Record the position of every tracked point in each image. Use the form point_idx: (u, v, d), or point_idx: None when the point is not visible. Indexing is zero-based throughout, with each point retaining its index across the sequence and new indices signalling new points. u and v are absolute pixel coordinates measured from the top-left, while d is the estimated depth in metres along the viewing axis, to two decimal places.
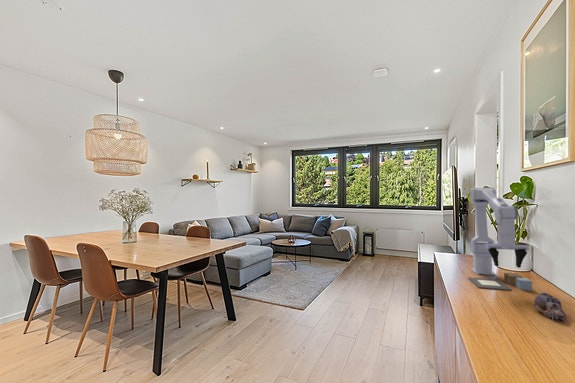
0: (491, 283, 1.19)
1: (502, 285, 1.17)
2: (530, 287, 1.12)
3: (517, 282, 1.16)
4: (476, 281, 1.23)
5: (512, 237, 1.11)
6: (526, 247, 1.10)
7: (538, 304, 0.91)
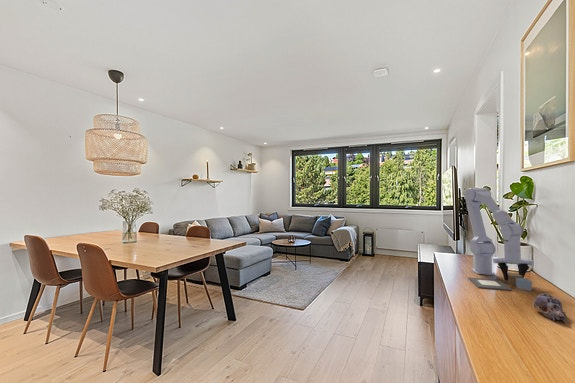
0: (491, 283, 1.19)
1: (502, 285, 1.17)
2: (530, 287, 1.12)
3: (517, 282, 1.16)
4: (476, 281, 1.23)
5: (518, 253, 1.19)
6: (531, 262, 1.18)
7: (538, 305, 0.91)
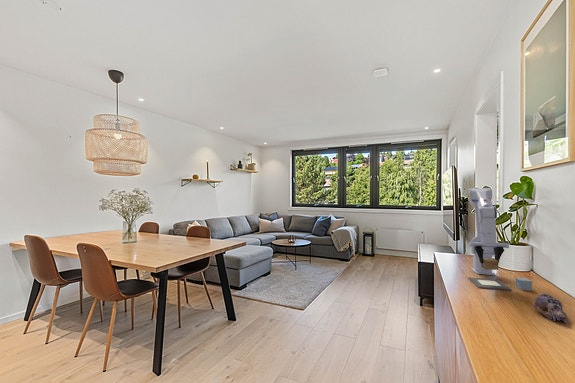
0: (491, 283, 1.19)
1: (502, 285, 1.17)
2: (530, 287, 1.12)
3: (517, 282, 1.16)
4: (476, 281, 1.23)
5: (493, 235, 1.18)
6: (506, 245, 1.18)
7: (539, 305, 0.90)
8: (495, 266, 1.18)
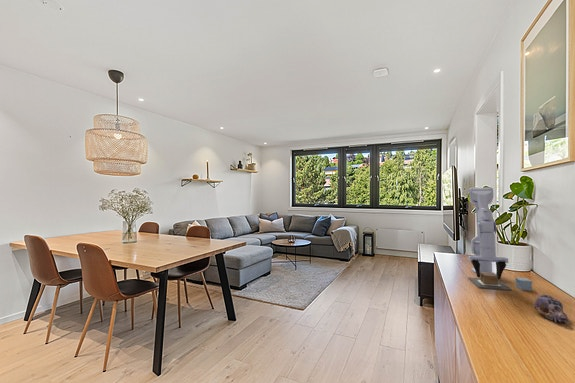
0: None
1: (502, 285, 1.17)
2: (530, 287, 1.12)
3: (517, 282, 1.16)
4: (476, 281, 1.23)
5: (492, 250, 1.18)
6: (505, 260, 1.18)
7: (539, 306, 0.90)
8: (494, 281, 1.17)
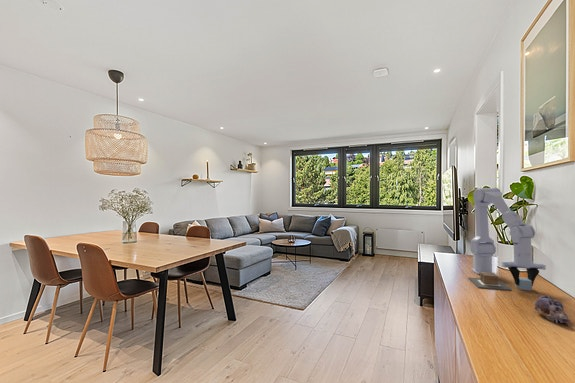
0: None
1: (502, 285, 1.17)
2: (530, 287, 1.12)
3: None
4: (476, 281, 1.23)
5: (529, 256, 1.12)
6: (543, 266, 1.12)
7: (540, 307, 0.89)
8: (494, 281, 1.17)
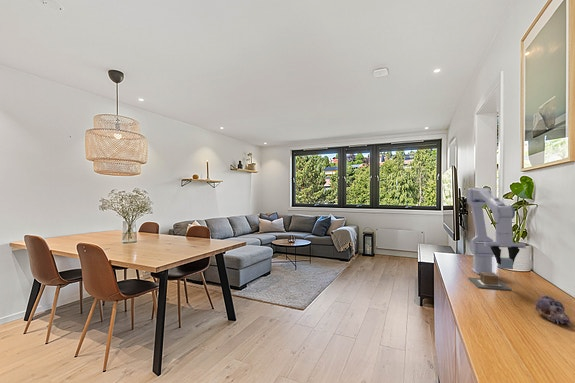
0: None
1: (502, 285, 1.17)
2: (511, 266, 1.15)
3: None
4: (476, 281, 1.23)
5: (510, 235, 1.15)
6: (523, 245, 1.15)
7: (540, 308, 0.89)
8: (494, 281, 1.17)
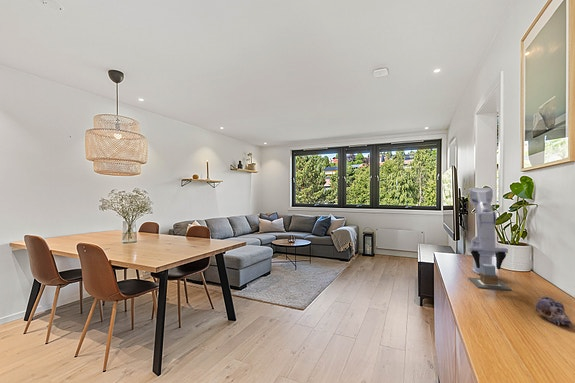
0: None
1: (502, 285, 1.17)
2: (494, 272, 1.18)
3: (482, 268, 1.21)
4: (476, 281, 1.23)
5: (492, 241, 1.18)
6: (505, 250, 1.18)
7: (541, 309, 0.88)
8: (494, 281, 1.17)
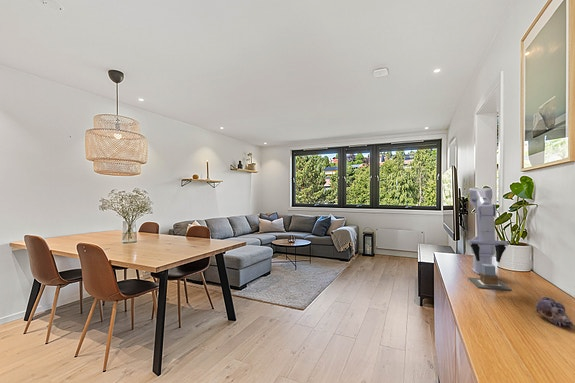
0: None
1: (502, 285, 1.17)
2: (494, 272, 1.18)
3: (482, 268, 1.21)
4: (476, 281, 1.23)
5: (492, 233, 1.18)
6: (505, 243, 1.18)
7: (542, 309, 0.87)
8: (494, 281, 1.17)
